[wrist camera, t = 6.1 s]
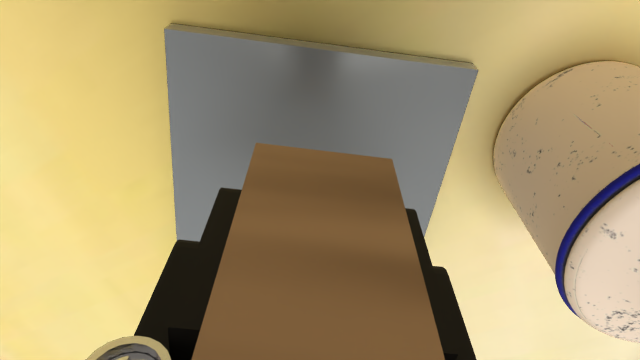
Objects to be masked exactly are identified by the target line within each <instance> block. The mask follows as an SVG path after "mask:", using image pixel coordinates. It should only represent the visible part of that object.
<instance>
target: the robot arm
mask: <svg viewBox="0 0 640 360" xmlns="http://www.w3.org/2000/svg"><path fill="white" fill-rule="evenodd" d="M241 191H242V190H240V189H231V188H222V187H221V188H220V189H219V192H218V194H217V197H216V200H215V202H214V205H213V208H212V210H211V213H210V216H209V218H208V221H207V224H206V226H205V229H204V232H203V234H202V237H201V240H200V242H199V241H189V240H180V239H179V240H178V241H177V242H176V243H175V245H174V247H173V249H172V252H171V254H170V256H169V258H168V260H167V263H166V265H165V267H164V269H163V272H162V274H161V276H160V278H159V281H158V283H157V285H156V287H155V290H154V292H153V294H152V296H151V298H150V301H149V303H148V305H147V307H146V310H145V312H144V314H143V316H142V319H141V321H140V323H139V325H138V328H137V330H136V332H135V334H134V336H130V337H122V338H119V339H116V340H113V341H110V342H108V343H106V344H105V345H103V346H102V347H100V348H98V349H97V350H95V351H94V352H93V353H92V354H91V355H90V356H89V357H88V358H87V359H86V360H191V359H192V356H193V353H194V349H195V346H196V343H197V339H198V336H199V332H200V329H201V326H202V322H203V319H204V316H205V312H206V309H207V306H208V302H209V299H210V295H211V292H212V289H213V285H214V282H215V279H216V275H217V272H218V269H219V265H220V262H221V258H222V255H223V252H224V248H225V245H226V242H227V238H228V235H229V232H230V228H231V225H232V221H233V218H234V215H235V211H236V208H237V205H238V201H239V198H240V195H241ZM405 210H406V213H407V217H408V221H409V225H410V229H411V232H412V236H413V240H414V244H415V248H416V251H417V255H418V259H419V263H420V267H421V270H422V274H423V278H424V282H425V286H426V289H427V293H428V297H429V301H430V305H431V308H432V312H433V316H434V320H435V324H436V327H437V331H438V335H439V339H440V343H441V346H442V350H443V354H444V358H445V360H476V357H475V354H474V351H473V348H472V345H471V342H470V339H469V336H468V333H467V330H466V327H465V324H464V321H463V318H462V315H461V312H460V309H459V306H458V303H457V300H456V297H455V294H454V291H453V288H452V285H451V282H450V279H449V276H448V273H447V271H446V269H445V268H443V267H437V266H432V263H431V260H430V256H429V253H428V249H427V246H426V243H425V239H424V236H423V233H422V229H421V226H420V222H419V219H418V216H417V212H416V210H415V209H409V208H405Z"/></svg>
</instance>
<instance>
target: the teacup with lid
mask: <svg viewBox="0 0 640 360" xmlns="http://www.w3.org/2000/svg"><path fill="white" fill-rule="evenodd" d="M493 162H494V169H495V173H496V177H497V179H498V182H499V184H500V186H501V187H502V189H503V191H504V192H505V194H506V196H507V197H508V199H509V200H510V202H511V204H512V205H513V207H514V209H515V210H516V212H517V213H518V215H519V217H520V218H521V220H522V222H523V223H524V225H525V226H526V228H527V230H528V231H529V233H530V235H531V236H532V238H533V239H534V241H535V243H536V244H537V246H538V248H539V249H540V251H541V252H542V254H543V256H544V257H545V259H546V261H547V262H548V264H549V266H550V267H551V269H552V270H553V272H554V274H555V279H556V284H557V288H558V290H559V293H560V295H561V297H562V299H563V301H564V302H565V304H566V305H567V306H568V308H569V309H570V310H571V311H572V312H573V313H574V314H575V315H577V316H578V317H579V318H581V319H582V320H583V321H584V322H586V323H587V324H588V325H590V326H591V327H593V328H595V329H597V330H598V331H600V332H603V333H605V334H607V335H609V336H612V337H615V338H618V339H622V340H627V341H631V342H638V343H640V67H639V66H636V65H633V64H629V63H624V62H616V61H601V62H592V63H586V64H582V65H578V66H574V67H571V68H569V69H566V70H563V71H561V72H559V73H557V74H555V75H553V76H551V77H549V78H547V79H546V80H544V81H543V82H541V83H540V84H538V85H537V86H535V87H534V88H533V89H531V90H530V91H529V92H528V93H527V94H526V95H525V96H523V98H522V99H521V100H520V101H519V102H518V103H517V104H516V105H515V106H514V107H513V109H512V110H511V111H510V113H509V114H508V116H507V117H506V119H505V121H504V122H503V124H502V126H501V128H500V131H499V133H498V136H497V139H496V143H495V147H494V161H493Z"/></svg>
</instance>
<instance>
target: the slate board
mask: <svg viewBox="0 0 640 360" xmlns="http://www.w3.org/2000/svg"><path fill="white" fill-rule="evenodd" d="M164 32H165V49H166V66H167V83H168V100H169V116H170V133H171V150H172V167H173V184H174V201H175V217H176V234H177V241H178V240H179V239H180V240H189V241H199V242H200V240H201V237H202V234H203V232H204V229H205V226H206V224H207V221H208V218H209V216H210V213H211V210H212V208H213V205H214V202H215V200H216V197H217V194H218V192H219V189H220V188H221V187H222V188H231V189H240V190H242V188H243V184H244V181H245V178H246V174H247V171H248V168H249V164H250V161H251V157H252V154H253V151H254V147H255V144H256V143H263V144H271V145H279V146H288V147H296V148H305V149H313V150H321V151H330V152H338V153H347V154H355V155H363V156H372V157H380V158H389V159H392V160H393V164H394V168H395V172H396V175H397V179H398V183H399V187H400V191H401V194H402V198H403V202H404V206H405V208H409V209H415V210H416V212H417V216H418V219H419V222H420V226H421V229H422V233H423V236H425V233H426V230H427V227H428V223H429V220H430V217H431V214H432V211H433V208H434V205H435V202H436V199H437V196H438V193H439V190H440V187H441V184H442V180H443V177H444V174H445V171H446V168H447V165H448V162H449V159H450V156H451V153H452V150H453V147H454V144H455V140H456V137H457V134H458V131H459V128H460V125H461V122H462V119H463V116H464V113H465V110H466V107H467V104H468V101H469V97H470V94H471V91H472V88H473V85H474V82H475V79H476V76H477V73H478V69H477V68H476V67H475V66H474V65H473V63H467V62H459V61H452V60H444V59H437V58H429V57H422V56H414V55H406V54H399V53H391V52H384V51H376V50H369V49H361V48H354V47H346V46H338V45H331V44H323V43H316V42H308V41H301V40H293V39H286V38H278V37H270V36H263V35H255V34H248V33H240V32H233V31H225V30H218V29H210V28H202V27H195V26H187V25H180V24H172V23H171V24H170V25H168V26H167V27H166V28H165V29H164Z"/></svg>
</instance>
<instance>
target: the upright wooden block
mask: <svg viewBox="0 0 640 360" xmlns="http://www.w3.org/2000/svg"><path fill="white" fill-rule="evenodd" d="M191 360H445V358H444V354H443V350H442V346H441V343H440V339H439V335H438V331H437V327H436V324H435V320H434V316H433V312H432V308H431V305H430V301H429V297H428V293H427V289H426V286H425V282H424V278H423V274H422V270H421V267H420V263H419V259H418V255H417V251H416V248H415V244H414V240H413V236H412V232H411V229H410V225H409V221H408V217H407V213H406V210H405V206H404V202H403V198H402V194H401V191H400V187H399V183H398V179H397V175H396V172H395V168H394V164H393V160H392V159H389V158H380V157H372V156H363V155H355V154H347V153H338V152H330V151H321V150H313V149H305V148H296V147H288V146H279V145H271V144H263V143H256V144H255V147H254V151H253V154H252V157H251V161H250V164H249V168H248V171H247V174H246V178H245V181H244V184H243V188H242V191H241V195H240V198H239V201H238V205H237V208H236V211H235V215H234V218H233V221H232V225H231V228H230V232H229V235H228V238H227V242H226V245H225V248H224V252H223V255H222V258H221V262H220V265H219V269H218V272H217V275H216V279H215V282H214V285H213V289H212V292H211V295H210V299H209V302H208V306H207V309H206V312H205V316H204V319H203V322H202V326H201V329H200V332H199V336H198V339H197V343H196V346H195V349H194V353H193V356H192V359H191Z"/></svg>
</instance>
